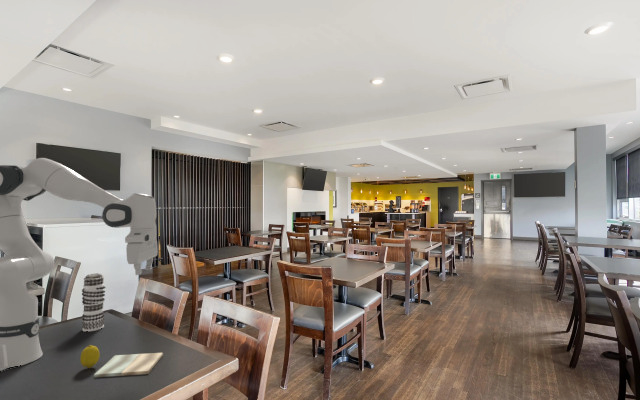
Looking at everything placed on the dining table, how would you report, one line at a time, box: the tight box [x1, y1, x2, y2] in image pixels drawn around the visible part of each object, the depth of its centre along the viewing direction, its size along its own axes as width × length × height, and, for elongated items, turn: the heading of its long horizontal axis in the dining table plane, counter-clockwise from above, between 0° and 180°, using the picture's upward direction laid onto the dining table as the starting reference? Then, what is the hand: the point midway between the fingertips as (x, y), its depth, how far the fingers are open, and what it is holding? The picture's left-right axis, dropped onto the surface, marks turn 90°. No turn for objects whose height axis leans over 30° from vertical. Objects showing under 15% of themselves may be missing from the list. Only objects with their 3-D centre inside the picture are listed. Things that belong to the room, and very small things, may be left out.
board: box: [93, 352, 164, 378], centre depth 117 cm, size 17×14×1 cm
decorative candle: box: [81, 273, 107, 332], centre depth 153 cm, size 9×9×25 cm
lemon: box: [79, 344, 100, 369], centre depth 115 cm, size 6×6×8 cm
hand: (143, 272), depth 125 cm, fingers open, 8 cm apart
